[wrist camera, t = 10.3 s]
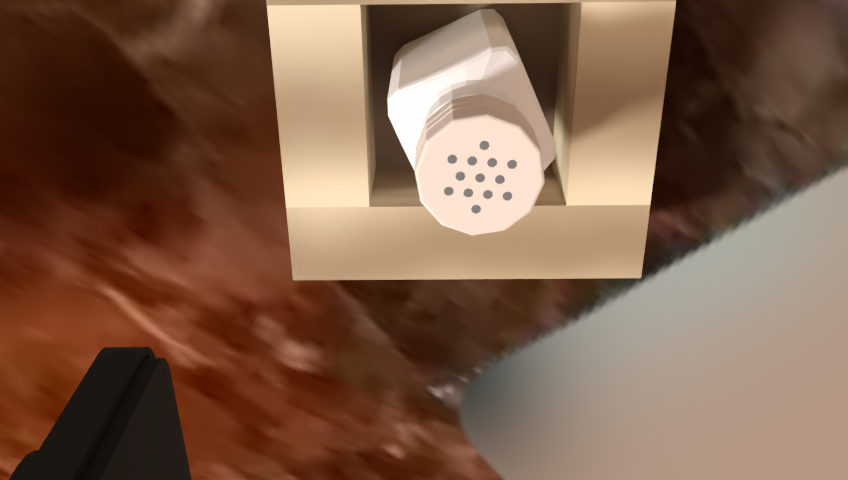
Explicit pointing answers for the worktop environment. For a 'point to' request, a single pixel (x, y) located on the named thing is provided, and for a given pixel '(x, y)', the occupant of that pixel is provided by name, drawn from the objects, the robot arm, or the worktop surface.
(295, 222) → the socket block
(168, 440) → the robot arm
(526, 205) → the pepper shaker
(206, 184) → the worktop surface
